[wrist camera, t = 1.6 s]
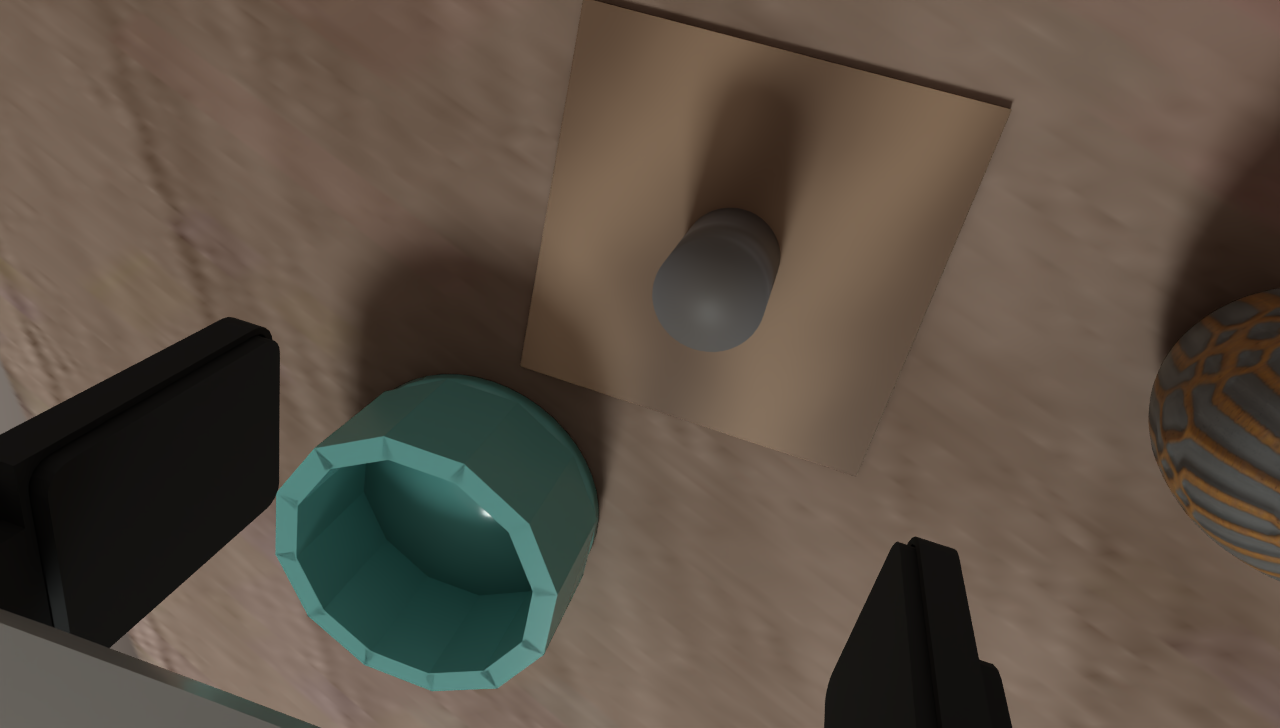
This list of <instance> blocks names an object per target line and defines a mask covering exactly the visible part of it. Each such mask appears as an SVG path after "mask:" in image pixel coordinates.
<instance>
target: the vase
mask: <svg viewBox="0 0 1280 728" xmlns="http://www.w3.org/2000/svg"><path fill="white" fill-rule="evenodd" d="M1149 432H1150V439H1151V445H1152V450H1153V453H1154V456H1155V459H1156V461H1157V464H1158V466H1159V469H1160V471H1161V473H1162V476H1163V478H1164V479H1165V481H1166V483H1167V485H1168V487H1169V488H1170V490H1171V492H1172V494H1173V496H1174V497H1175V498H1176V500H1177V501H1178V503H1179V504H1180V506H1181V507H1182V508H1183V510H1184V511H1185V512H1186V514H1187V515H1188V516H1189V517H1190V518H1191V520H1192V521H1193V522H1194V523H1195V524H1196V525H1197V526H1198V527H1199V528H1200V529H1201V530H1202V531H1203V532H1204V533H1205V534H1206V535H1207V536H1209V537H1210V538H1211V539H1212V540H1213V541H1215V542H1216V543H1217V544H1218V545H1220V546H1221V547H1222V548H1224V549H1225V550H1226V551H1228V552H1229V553H1231V554H1232V555H1233V556H1235V557H1236V558H1238V559H1239V560H1241V561H1242V562H1244V563H1246V564H1247V565H1249V566H1251V567H1252V568H1254V569H1256V570H1258V571H1260V572H1261V573H1263V574H1265V575H1267V576H1269V577H1271V578H1273V579H1276V580H1278V581H1280V288H1278V289H1273V290H1268V291H1264V292H1260V293H1256V294H1253V295H1250V296H1247V297H1244V298H1241V299H1239V300H1236V301H1234V302H1232V303H1230V304H1228V305H1226V306H1223V307H1221V308H1219V309H1218V310H1216V311H1214V312H1213V313H1211V314H1209V315H1208V316H1206V317H1205V318H1203V319H1202V320H1201V321H1199V322H1198V323H1197V324H1195V325H1194V326H1193V327H1192V328H1191V329H1190V330H1188V331H1187V332H1186V333H1185V334H1184V335H1183V336H1182V337H1181V338H1180V339H1179V341H1178V342H1177V343H1176V344H1175V345H1174V346H1173V348H1172V349H1171V351H1170V352H1169V353H1168V355H1167V356H1166V358H1165V360H1164V362H1163V363H1162V365H1161V367H1160V370H1159V372H1158V374H1157V377H1156V379H1155V382H1154V385H1153V388H1152V392H1151V397H1150V405H1149Z"/></svg>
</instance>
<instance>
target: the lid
mask: <svg viewBox="0 0 1280 728" xmlns="http://www.w3.org/2000/svg"><path fill="white" fill-rule="evenodd" d="M1010 113H1011V109H1009V108H1006V107H1002V106H998V105H994V104H990V103H986V102H983V101H979V100H975V99H971V98H967V97H964V96H960V95H956V94H952V93H948V92H944V91H941V90H937V89H933V88H929V87H925V86H921V85H918V84H914V83H910V82H906V81H902V80H898V79H895V78H891V77H887V76H883V75H879V74H875V73H872V72H868V71H864V70H860V69H856V68H852V67H849V66H845V65H841V64H837V63H833V62H830V61H826V60H822V59H818V58H814V57H810V56H807V55H803V54H799V53H795V52H791V51H787V50H784V49H780V48H776V47H772V46H768V45H764V44H761V43H757V42H753V41H749V40H745V39H741V38H738V37H734V36H730V35H726V34H722V33H719V32H715V31H711V30H707V29H703V28H699V27H696V26H692V25H688V24H684V23H680V22H676V21H673V20H669V19H665V18H661V17H657V16H653V15H650V14H646V13H642V12H638V11H634V10H630V9H627V8H623V7H619V6H615V5H611V4H608V3H604V2H600V1H596V0H583V3H582V9H581V15H580V21H579V26H578V32H577V38H576V44H575V50H574V55H573V61H572V67H571V73H570V79H569V85H568V90H567V96H566V102H565V108H564V114H563V119H562V125H561V131H560V137H559V143H558V149H557V154H556V160H555V166H554V172H553V178H552V183H551V189H550V195H549V201H548V207H547V212H546V218H545V224H544V230H543V236H542V242H541V247H540V253H539V259H538V265H537V271H536V276H535V282H534V288H533V294H532V300H531V306H530V311H529V317H528V323H527V329H526V335H525V340H524V346H523V352H522V358H521V364H520V366H521V367H524V368H527V369H530V370H533V371H536V372H539V373H542V374H545V375H548V376H551V377H554V378H557V379H560V380H563V381H566V382H569V383H572V384H576V385H579V386H582V387H585V388H588V389H591V390H594V391H597V392H600V393H603V394H606V395H609V396H612V397H615V398H618V399H621V400H624V401H627V402H630V403H633V404H636V405H639V406H642V407H645V408H649V409H652V410H655V411H658V412H661V413H664V414H667V415H670V416H673V417H676V418H679V419H682V420H685V421H688V422H691V423H694V424H697V425H700V426H703V427H706V428H709V429H712V430H715V431H718V432H721V433H725V434H728V435H731V436H734V437H737V438H740V439H743V440H746V441H749V442H752V443H755V444H758V445H761V446H764V447H767V448H770V449H773V450H776V451H779V452H782V453H785V454H788V455H791V456H794V457H798V458H801V459H804V460H807V461H810V462H813V463H816V464H819V465H822V466H825V467H828V468H831V469H834V470H837V471H840V472H843V473H846V474H849V475H852V476H855V477H856V476H857V474H858V472H859V469H860V467H861V465H862V462H863V460H864V457H865V455H866V453H867V450H868V448H869V446H870V443H871V441H872V439H873V436H874V434H875V431H876V429H877V427H878V424H879V422H880V420H881V417H882V415H883V413H884V410H885V408H886V405H887V403H888V401H889V398H890V396H891V394H892V391H893V389H894V387H895V384H896V382H897V379H898V377H899V375H900V372H901V370H902V368H903V365H904V363H905V361H906V358H907V356H908V354H909V351H910V349H911V346H912V344H913V342H914V339H915V337H916V335H917V332H918V330H919V328H920V325H921V323H922V320H923V318H924V316H925V313H926V311H927V309H928V306H929V304H930V302H931V299H932V297H933V294H934V292H935V290H936V287H937V285H938V283H939V280H940V278H941V276H942V273H943V271H944V269H945V266H946V264H947V261H948V259H949V257H950V254H951V252H952V250H953V247H954V245H955V243H956V240H957V238H958V235H959V233H960V231H961V228H962V226H963V224H964V221H965V219H966V217H967V214H968V212H969V209H970V207H971V205H972V202H973V200H974V198H975V195H976V193H977V191H978V188H979V186H980V183H981V181H982V179H983V176H984V174H985V172H986V169H987V167H988V165H989V162H990V160H991V158H992V155H993V153H994V150H995V148H996V146H997V143H998V141H999V139H1000V136H1001V134H1002V132H1003V129H1004V127H1005V124H1006V122H1007V120H1008V117H1009V115H1010Z"/></svg>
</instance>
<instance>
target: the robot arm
mask: <svg viewBox="0 0 1280 728" xmlns="http://www.w3.org/2000/svg"><path fill="white" fill-rule="evenodd" d="M279 394H280V350H279V346H278V344H277V343H276V342H275V341H273V340H272V336H271V333H270V331H269V330H267V329H266V328H264V327H261V326H258V325H255V324H252V323H249V322H245V321H242V320H239V319H236V318H232V317H227V318H224V319H221V320H219V321H217V322H215V323H213V324H211V325H210V326H208V327H206V328H204V329H202V330H200V331H198V332H196V333H194V334H192V335H190V336H188V337H187V338H185V339H183V340H181V341H179V342H177V343H175V344H173V345H171V346H169V347H167V348H166V349H164V350H162V351H160V352H158V353H156V354H154V355H152V356H150V357H148V358H146V359H144V360H143V361H141V362H139V363H137V364H135V365H133V366H131V367H129V368H127V369H125V370H123V371H121V372H120V373H118V374H116V375H114V376H112V377H110V378H108V379H106V380H104V381H102V382H100V383H98V384H97V385H95V386H93V387H91V388H89V389H87V390H85V391H83V392H81V393H79V394H77V395H75V396H74V397H72V398H70V399H68V400H66V401H64V402H62V403H60V404H58V405H56V406H54V407H53V408H51V409H49V410H47V411H45V412H43V413H41V414H39V415H37V416H35V417H33V418H31V419H30V420H28V421H26V422H24V423H22V424H20V425H18V426H16V427H14V428H12V429H10V430H9V431H7V432H5V433H3V434H1V435H0V728H320V727H317V726H315V725H312V724H310V723H307V722H304V721H302V720H299V719H296V718H294V717H291V716H288V715H286V714H283V713H281V712H278V711H275V710H273V709H270V708H267V707H265V706H262V705H259V704H257V703H254V702H252V701H249V700H246V699H244V698H241V697H238V696H236V695H233V694H230V693H228V692H225V691H222V690H220V689H217V688H214V687H212V686H209V685H206V684H204V683H201V682H198V681H196V680H193V679H190V678H188V677H185V676H182V675H180V674H177V673H174V672H172V671H169V670H166V669H164V668H161V667H158V666H156V665H153V664H150V663H148V662H145V661H142V660H139V659H137V658H134V657H131V656H129V655H126V654H123V653H121V652H118V651H115V650H112V649H110V647H111V646H112V645H113V644H115V642H117V641H118V640H119V639H120V638H121V637H122V636H123V635H125V634H126V633H127V632H128V631H129V630H130V629H131V628H133V627H134V626H135V625H136V624H137V623H138V622H139V621H140V620H142V619H143V618H144V617H145V616H146V615H147V614H148V613H149V612H151V611H152V610H153V609H154V608H155V607H156V606H157V605H158V604H160V603H161V602H162V601H163V600H164V599H165V598H166V597H167V596H169V595H170V594H171V593H172V592H173V591H174V590H175V589H176V588H178V587H179V586H180V585H181V584H182V583H183V582H184V581H185V580H187V579H188V578H189V577H190V576H191V575H192V574H193V573H194V572H196V571H197V570H198V569H199V568H200V567H201V566H202V565H204V564H205V563H206V562H207V561H208V560H209V559H210V558H211V557H213V556H214V555H215V554H216V553H217V552H218V551H219V550H220V549H222V548H223V547H224V546H225V545H226V544H227V543H228V542H229V541H231V540H232V539H233V538H234V537H235V536H236V535H237V534H238V533H240V532H241V531H242V530H243V529H244V528H245V527H246V526H247V525H249V524H250V523H251V522H252V521H253V520H254V519H255V518H256V517H258V516H259V515H260V514H261V513H262V512H263V511H264V510H265V509H267V508H268V506H269V505H270V504H271V503H272V501H273V500H274V498H275V496H276V494H277V491H278V487H279ZM824 728H1012V724H1011V720H1010V715H1009V711H1008V706H1007V702H1006V697H1005V693H1004V688H1003V684H1002V680H1001V677H1000V674H999V671H998V669H997V668H996V667H995V666H994V665H993V664H990V663H987V662H985V661H982V660H979V657H978V652H977V647H976V642H975V637H974V631H973V626H972V621H971V616H970V611H969V606H968V601H967V596H966V590H965V585H964V580H963V575H962V570H961V565H960V560H959V555H958V552H957V551H956V550H955V549H953V548H950V547H946V546H943V545H940V544H937V543H934V542H931V541H928V540H925V539H921V538H918V537H913V538H912V539H911V540H910V541H909V542H908V544H907V545H906V544H903V543H899V542H896V543H895V544H894V545H893V546H892V548H891V550H890V552H889V554H888V556H887V558H886V560H885V562H884V565H883V567H882V569H881V571H880V573H879V575H878V577H877V579H876V581H875V584H874V586H873V588H872V590H871V592H870V594H869V596H868V598H867V601H866V603H865V605H864V607H863V609H862V611H861V613H860V615H859V618H858V620H857V622H856V624H855V626H854V628H853V630H852V632H851V635H850V637H849V639H848V641H847V643H846V645H845V647H844V649H843V651H842V654H841V656H840V658H839V660H838V662H837V664H836V666H835V668H834V671H833V673H832V675H831V678H830V681H829V684H828V688H827V692H826V699H825V722H824Z"/></svg>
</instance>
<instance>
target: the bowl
mask: <svg viewBox="0 0 1280 728" xmlns="http://www.w3.org/2000/svg"><path fill="white" fill-rule="evenodd" d="M598 518H599V506H598V499H597V492H596V488H595V484H594V481H593V477H592V475H591V472H590V470H589V468H588V465H587V463H586V461H585V459H584V457H583V456H582V454H581V452H580V450H579V449H578V447H577V445H576V444H575V443H574V441H573V440H572V439H571V437H570V436H569V435H568V433H567V432H566V431H565V430H564V429H563V428H562V427H561V426H560V425H559V424H558V422H557V421H556V420H555V419H554V418H553V417H551V416H550V415H549V414H548V413H547V412H546V411H544V410H543V409H542V408H541V407H540V406H538V405H537V404H535V403H534V402H532V401H531V400H529V399H528V398H526V397H525V396H523V395H521V394H519V393H517V392H516V391H514V390H512V389H510V388H508V387H505V386H503V385H500V384H498V383H495V382H493V381H489V380H485V379H482V378H478V377H473V376H466V375H459V374H439V375H432V376H425V377H422V378H418V379H414V380H411V381H409V382H407V383H405V384H403V385H400V386H399V387H397V388H396V389H394V390H390V391H385V392H383V393H382V394H381V395H380V396H378V397H377V398H376V399H375V400H374V401H372V402H371V403H370V404H369V405H367V406H366V407H365V408H364V409H362V410H361V411H360V412H359V413H357V414H356V415H355V416H354V417H352V418H351V419H350V420H349V421H347V422H346V423H345V424H344V425H343V426H341V427H340V428H339V429H338V430H336V431H335V432H334V433H333V434H331V435H330V436H329V437H328V438H326V439H325V440H324V441H323V442H321V443H320V444H319V445H318V446H317V447H315V448H314V449H313V451H312V452H311V453H310V454H309V455H308V456H307V458H306V459H305V460H304V461H303V462H302V463H301V465H300V466H299V467H298V468H297V469H296V471H295V472H294V473H293V474H292V475H291V476H290V478H289V479H288V480H287V481H286V482H285V483H284V485H283V486H282V487H281V488H280V489H279V490H278V492H277V494H276V556H277V558H278V560H279V562H280V564H281V565H282V567H283V569H284V571H285V573H286V575H287V577H288V579H289V581H290V582H291V584H292V586H293V588H294V590H295V592H296V594H297V596H298V598H299V599H300V601H301V603H302V605H303V607H304V609H305V611H306V613H307V615H308V616H309V617H310V618H311V619H312V620H313V621H315V622H316V623H317V624H318V625H319V626H320V627H321V628H323V629H324V630H325V631H326V632H327V633H328V634H330V635H331V636H332V637H333V638H334V639H335V640H336V641H338V642H339V643H340V644H341V645H342V646H343V647H344V648H346V649H347V650H348V651H349V652H350V653H351V654H353V655H354V656H355V657H356V658H357V659H358V660H359V661H361V662H362V663H363V664H364V665H366V666H369V667H371V668H374V669H376V670H379V671H382V672H384V673H387V674H389V675H392V676H395V677H397V678H400V679H402V680H405V681H407V682H410V683H413V684H415V685H418V686H420V687H423V688H425V689H428V690H431V691H446V690H470V689H494V688H498V687H500V686H501V685H502V684H504V683H505V682H507V681H508V680H509V679H511V678H512V677H514V676H515V675H516V674H518V673H519V672H520V671H522V670H523V669H525V668H526V667H527V666H529V665H530V664H532V663H533V662H534V661H536V660H537V659H539V658H540V657H541V656H543V655H544V654H545V652H546V649H547V647H548V645H549V643H550V641H551V639H552V637H553V635H554V633H555V631H556V629H557V627H558V625H559V623H560V621H561V619H562V617H563V615H564V613H565V611H566V609H567V607H568V605H569V603H570V601H571V599H572V597H573V595H574V592H575V590H576V588H577V586H578V584H579V582H580V580H581V578H582V576H583V573H584V569H585V565H586V561H587V557H588V554H589V552H590V550H591V548H592V546H593V543H594V540H595V537H596V533H597V527H598Z"/></svg>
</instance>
